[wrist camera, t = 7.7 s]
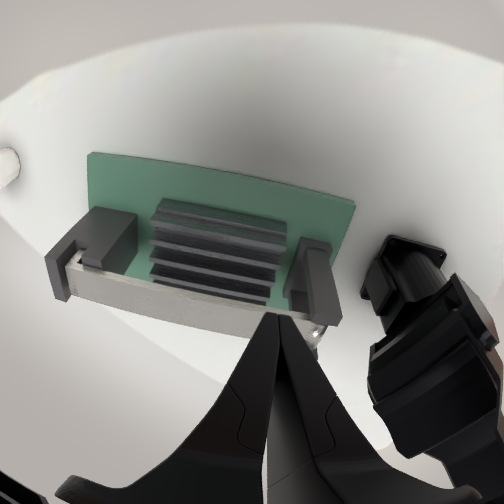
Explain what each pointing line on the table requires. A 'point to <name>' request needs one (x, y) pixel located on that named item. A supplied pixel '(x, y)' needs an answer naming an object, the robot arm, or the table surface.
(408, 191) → the table surface
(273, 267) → the heatsink
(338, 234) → the board
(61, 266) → the lug block
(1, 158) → the milkshake
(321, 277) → the bracket
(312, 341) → the metal bar
